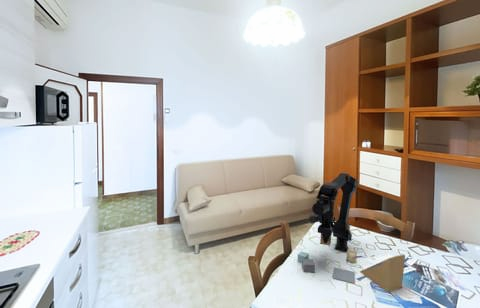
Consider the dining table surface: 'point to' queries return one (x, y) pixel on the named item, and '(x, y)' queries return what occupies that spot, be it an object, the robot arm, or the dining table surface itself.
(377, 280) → the sandwich container
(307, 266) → the charcoal block
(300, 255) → the teal block
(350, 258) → the beech cylinder
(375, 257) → the dining table surface
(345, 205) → the robot arm
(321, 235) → the walnut block
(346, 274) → the felt pad
